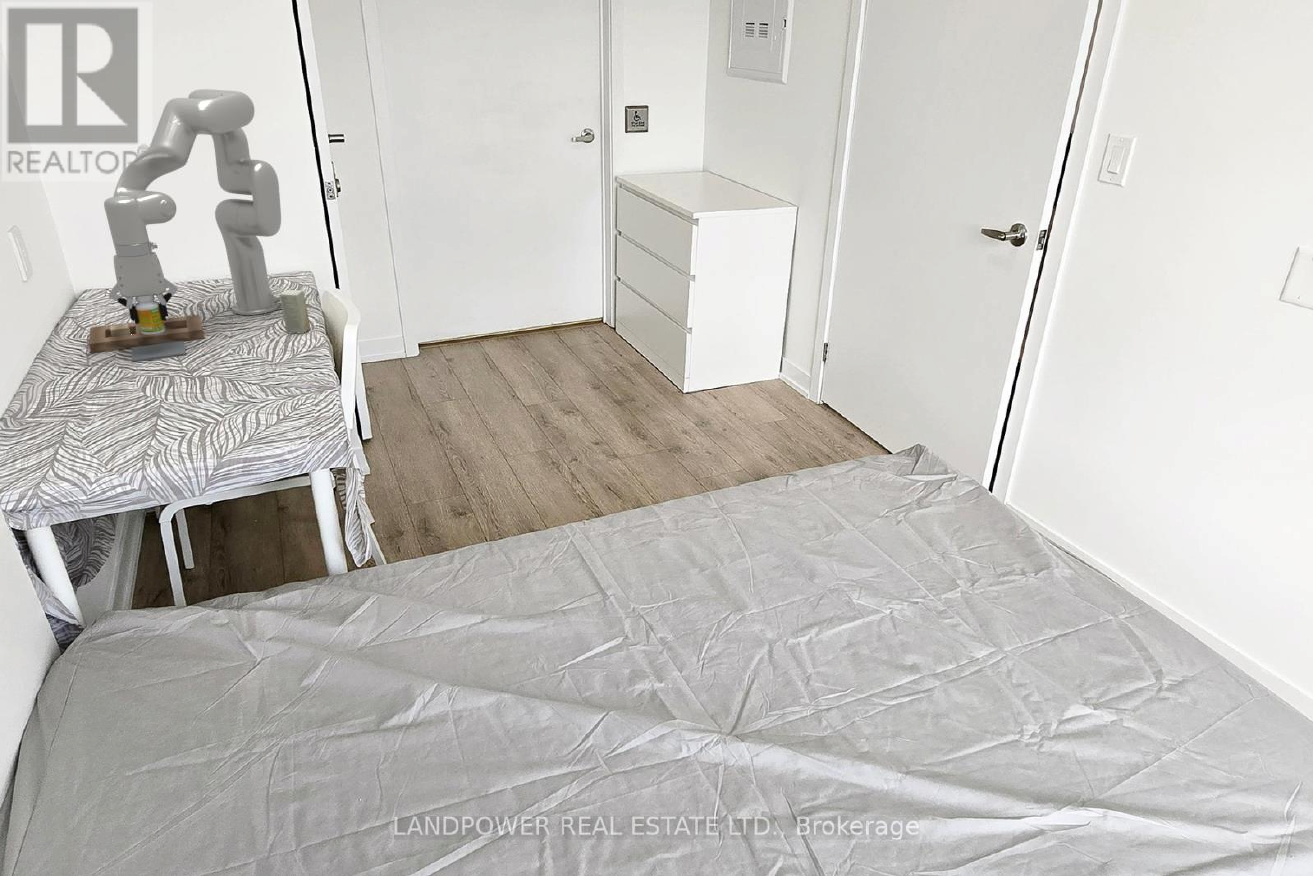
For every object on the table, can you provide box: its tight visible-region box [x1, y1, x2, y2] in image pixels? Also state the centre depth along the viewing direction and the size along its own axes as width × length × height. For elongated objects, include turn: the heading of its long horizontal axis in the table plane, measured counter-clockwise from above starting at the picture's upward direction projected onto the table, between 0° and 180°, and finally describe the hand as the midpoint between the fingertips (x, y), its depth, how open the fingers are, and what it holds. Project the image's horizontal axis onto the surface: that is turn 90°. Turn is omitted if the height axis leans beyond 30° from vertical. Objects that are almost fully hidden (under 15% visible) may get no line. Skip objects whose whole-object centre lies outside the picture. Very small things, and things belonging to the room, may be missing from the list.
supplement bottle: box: [134, 295, 165, 335], centre depth 214 cm, size 5×5×10 cm
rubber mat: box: [131, 341, 187, 363], centre depth 218 cm, size 12×10×1 cm
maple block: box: [110, 323, 131, 337], centre depth 224 cm, size 4×4×4 cm
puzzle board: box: [88, 314, 206, 354], centre depth 227 cm, size 26×14×2 cm, turn 119°
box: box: [279, 289, 311, 334], centre depth 233 cm, size 5×4×11 cm
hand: (150, 320), depth 214 cm, fingers closed on supplement bottle, 5 cm apart
